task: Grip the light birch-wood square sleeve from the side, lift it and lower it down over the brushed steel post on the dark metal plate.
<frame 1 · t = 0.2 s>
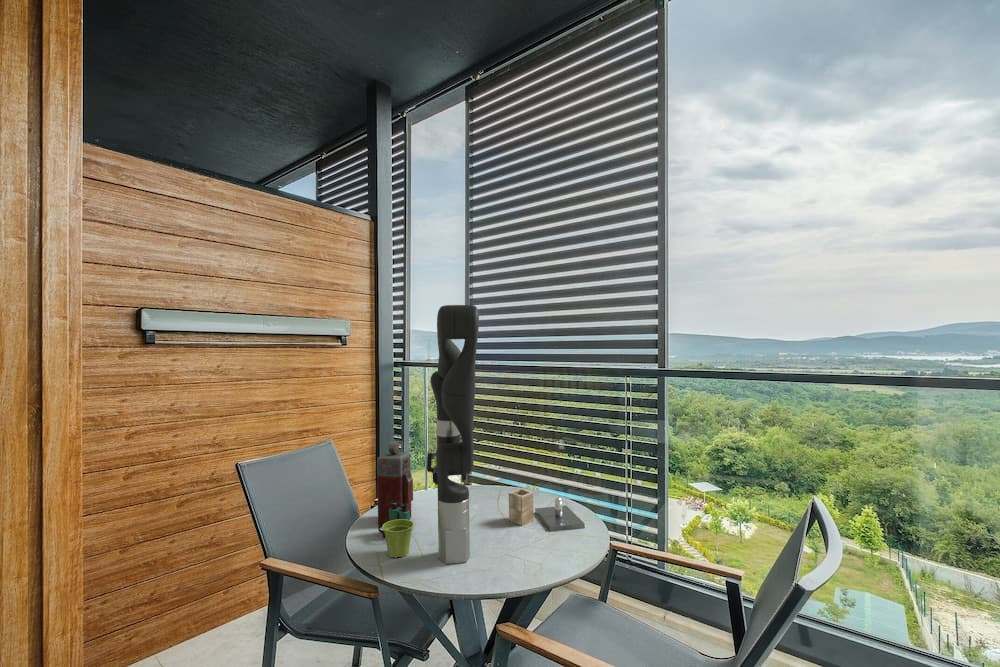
hand: (449, 482, 160), 18 cm above the table, tool pointing down, fingers open, 8 cm apart
plant pot: (398, 554, 149), on the table
post plate: (558, 519, 174), on the table
wooden sleeve: (521, 521, 174), on the table
dark red bottle: (398, 521, 176), on the table
binoculars: (395, 537, 162), on the table
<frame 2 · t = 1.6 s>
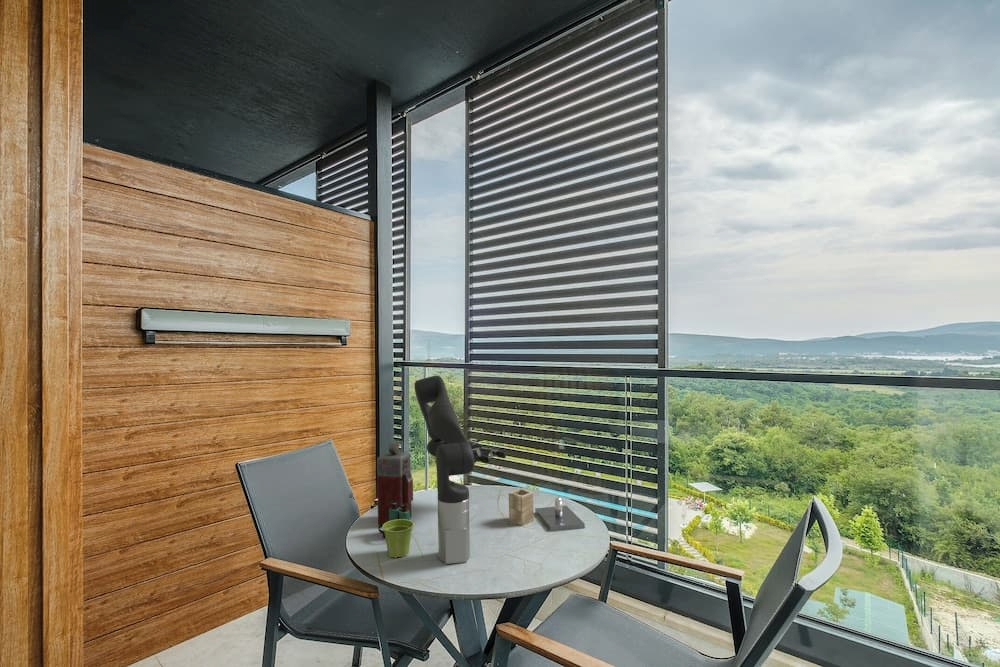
hand: (497, 457, 181), 20 cm above the table, tool horizontal, fingers open, 8 cm apart
nothing on the table moved.
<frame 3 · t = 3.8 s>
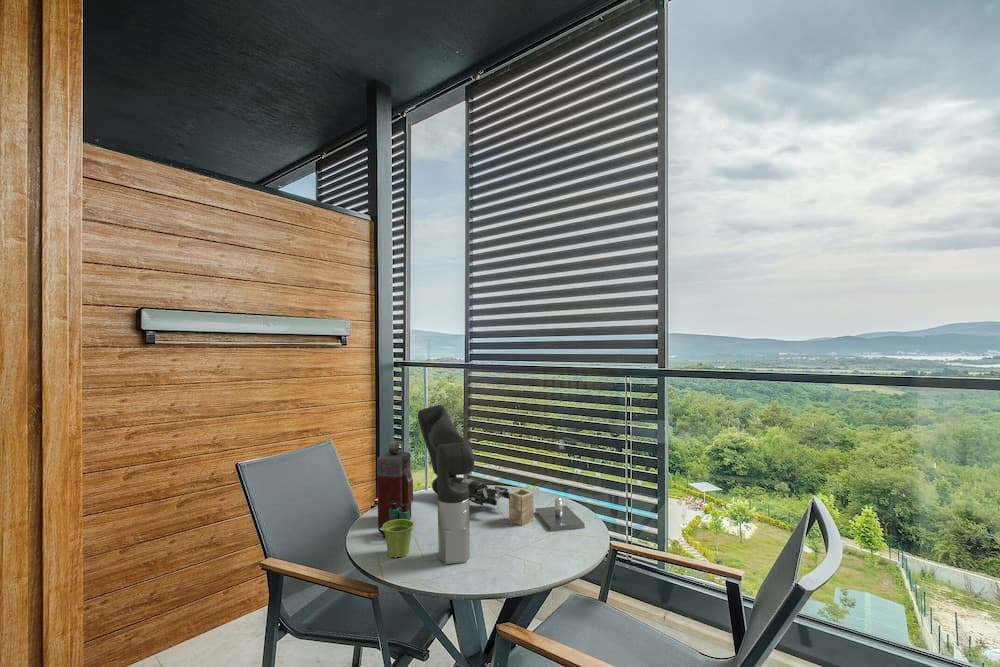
hand: (504, 499, 179), 6 cm above the table, tool horizontal, fingers open, 8 cm apart
nothing on the table moved.
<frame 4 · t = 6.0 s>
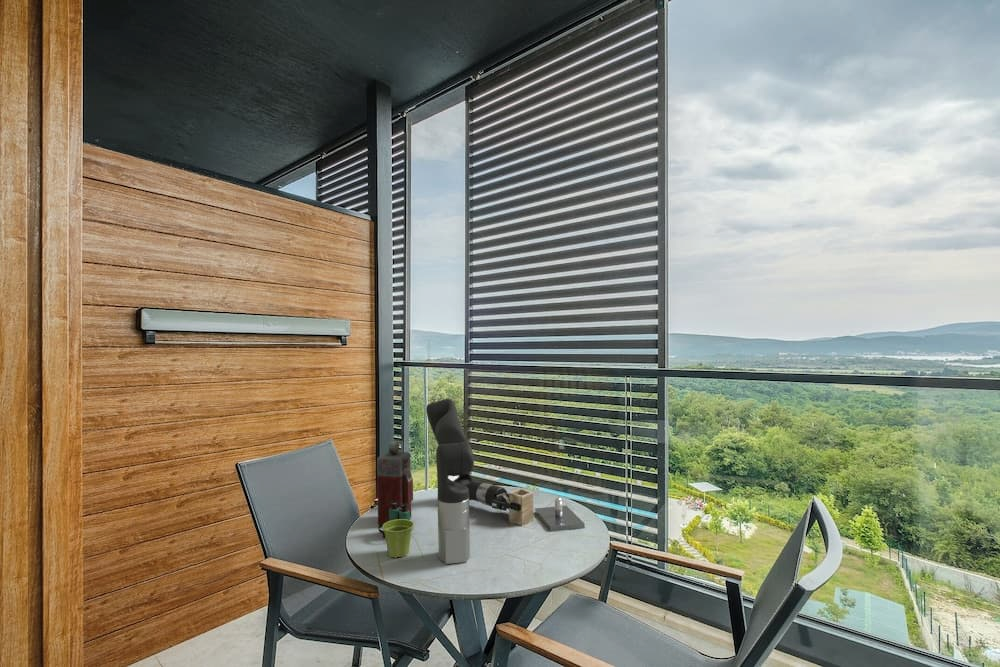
hand: (526, 505, 172), 6 cm above the table, tool horizontal, fingers closed on wooden sleeve, 6 cm apart
wooden sleeve: (521, 521, 174), on the table, touching gripper
everything else where it was.
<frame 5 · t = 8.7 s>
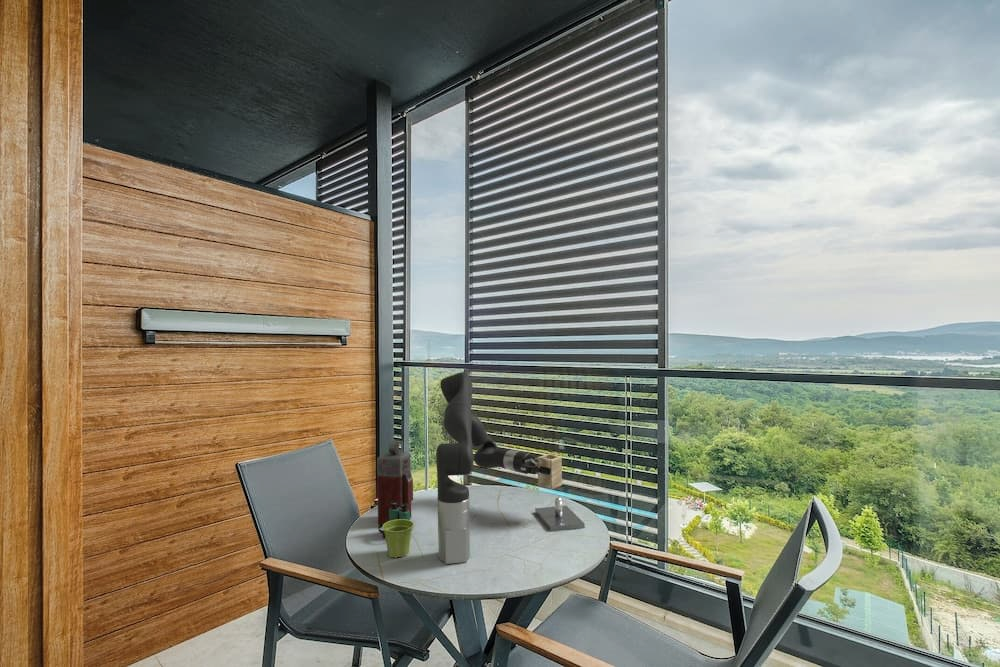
hand: (555, 469, 173), 18 cm above the table, tool horizontal, fingers closed on wooden sleeve, 6 cm apart
wooden sleeve: (550, 485, 175), point 12 cm above the table, touching gripper
everything else where it was.
when the fingers open (9 cm above the table, at t = 11.6 s): wooden sleeve drops 1 cm, resting on post plate.
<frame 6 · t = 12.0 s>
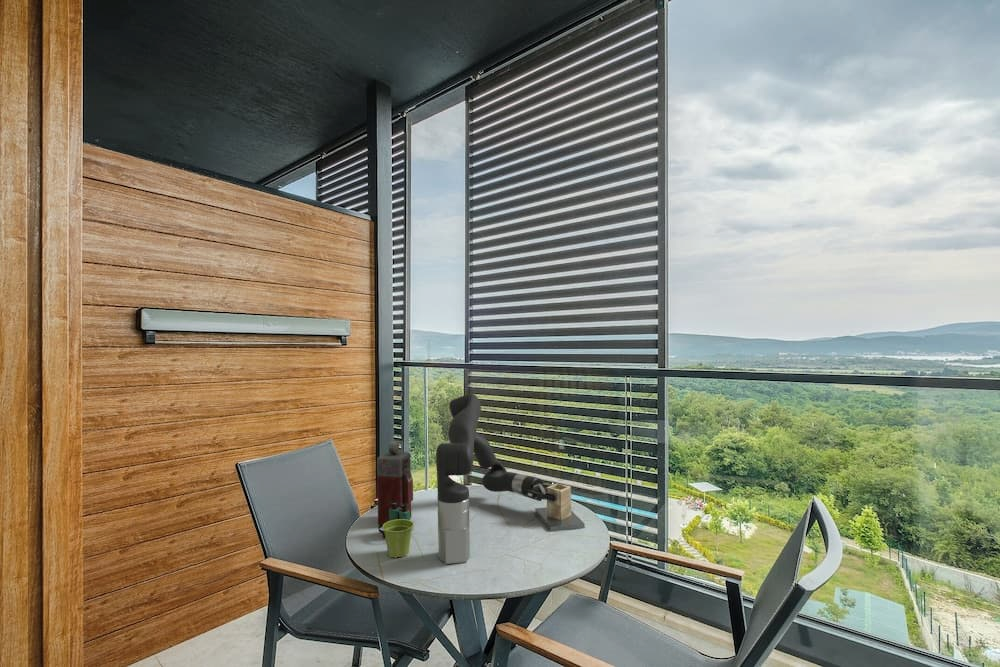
hand: (562, 495, 173), 9 cm above the table, tool horizontal, fingers open, 8 cm apart
wooden sleeve: (559, 515, 174), point 1 cm above the table, touching post plate
everything else where it was.
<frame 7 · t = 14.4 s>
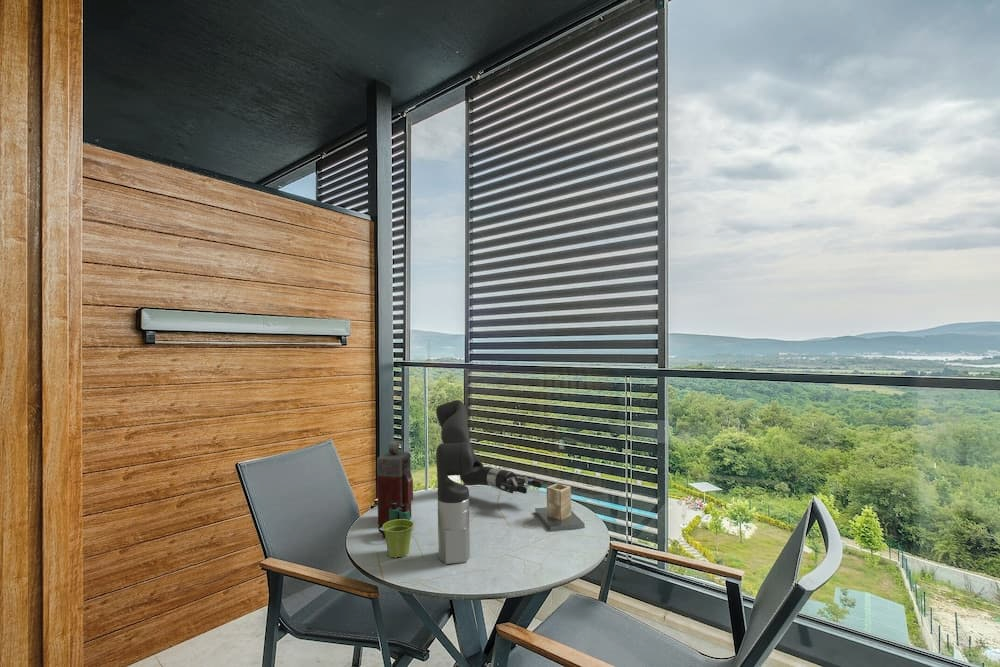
hand: (533, 487, 182), 9 cm above the table, tool horizontal, fingers open, 8 cm apart
nothing on the table moved.
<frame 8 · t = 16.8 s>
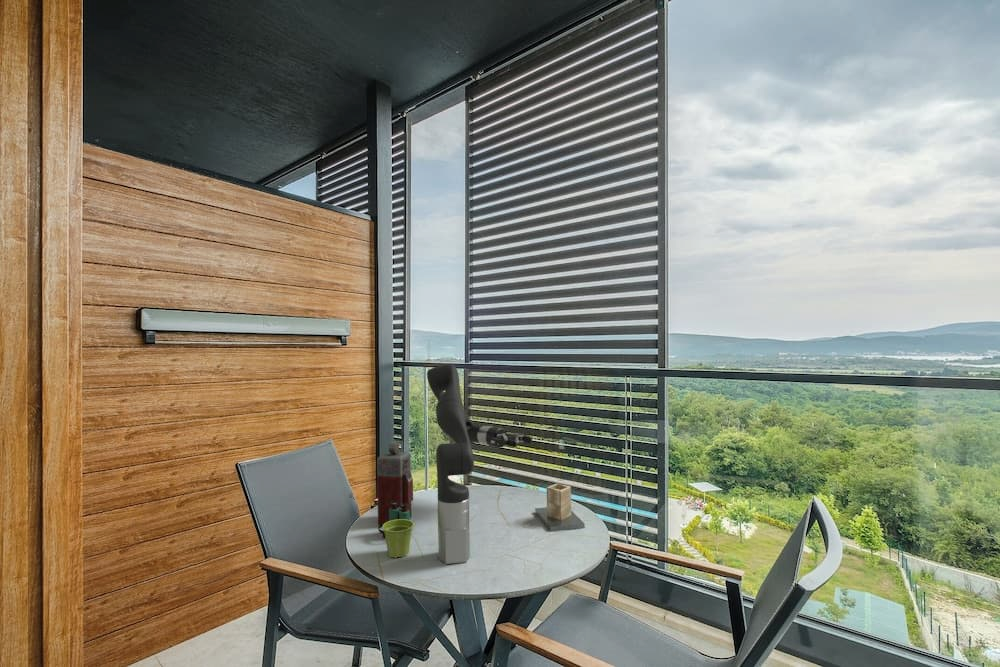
hand: (524, 442, 181), 26 cm above the table, tool horizontal, fingers open, 8 cm apart
nothing on the table moved.
at the end: wooden sleeve 0.1 cm from the post plate (horizontally); wooden sleeve point 1.5 cm above the table; wooden sleeve tilted 0° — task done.
